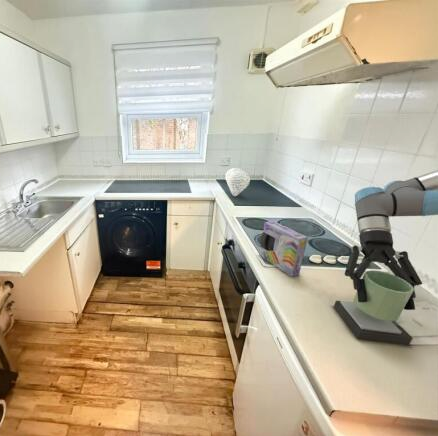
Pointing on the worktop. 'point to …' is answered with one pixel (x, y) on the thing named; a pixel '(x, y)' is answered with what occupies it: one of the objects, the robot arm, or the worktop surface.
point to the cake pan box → (283, 247)
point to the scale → (371, 325)
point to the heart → (237, 181)
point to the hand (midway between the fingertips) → (385, 305)
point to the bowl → (384, 295)
